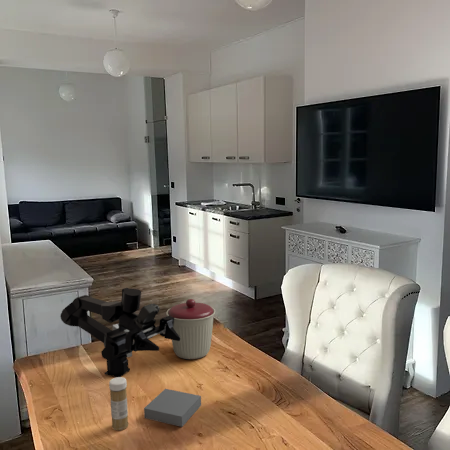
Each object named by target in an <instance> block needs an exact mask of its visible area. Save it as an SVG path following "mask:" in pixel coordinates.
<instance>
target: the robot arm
mask: <svg viewBox="0 0 450 450" xmlns="http://www.w3.org/2000/svg"><path fill="white" fill-rule="evenodd" d="M141 300H142V291H141V290H140V289H138V288H128V287H124V288H122V289H121V301H117V300H115V301H105V300H102V299H99V298H95V297H91V296H90V295H87V294H84V295H81V296H77V297H75V298H74V299H73V300H72V301H71V303H69V304H68V305H67V306H65V308H63V309H62V310H61V313H60V316H59V317H60V319H61V322H62V323H63V324H64V325H66V326H69V327H78V328H80V329H82V330H83V331H85V332H86V333H88V334H89V335H91V336H92V337H94V338H95V339H97V340H98V341H100V342H101V343H103V346H104V348H103V349H102V350H101V352H100V353H101V358H102V359H104V360H106V371H105V372H104V375H105V376H110V377H114V378H116V377H123V376H124V375H125V374H127V373H128V372H130V371H131V368H130V367H129V359H128V357H127V355H126V354H128V353H130V352H132V353H133V352H147V351H148V352H150V351H151V352H158V351H160V346H158V345H157V344H156V343H155V342H153V341H152V340H150V339H151V338H153V337H154V336H157V335H160V336H161V337H164V338H163V339H167V340H170V341H172V340H175V341H180V337H179V335H178V334H177V332H176V331H175V330H174V328H173V326H174V318H173V317H172V316H170V315H169V316H167V315H166V316H165V317H162V318H160V319H159V325H157V326H156V325H155V324H156V323H157V320H156V319H155V318H156V316H157V315H158V314H159V312H160V309H161V308H160V306H159V305H158V304H156V303H150V304H147V305H144V306H142V307H141ZM140 307H141V308H140ZM137 311H139V312H138V313H136V312H137ZM88 312H91V313H95V314H96V315H97V314H98V315H100V316H101V318H102V320H104V321H105V322H107V323H109V324H112V323H114V322H117V321H118V323H117V324H118V326H119V328H117V329H115V330H113V329H111V328H109V327H107V326H105V325H104V324H103V323H102V322H101V323H100V321H97V320H96V319H95V318H93V317H92V316H90V315H89V313H88ZM126 329H127V330H129V332H125V331H124V330H126Z"/></svg>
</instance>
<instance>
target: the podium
mask: <svg viewBox="0 0 450 450" xmlns="http://www.w3.org/2000/svg"><path fill="white" fill-rule="evenodd" d="M201 406H202V395H199V394H195V393H188V392H183V391H178V390H175V389H174V390H173V389H169V388H164V389H163V390H162V391H161V392H160V393H159V394H157V396H156V397H154V399H152V400H151V401H150V402H149V403H148V404H146V406H144V407H143V414H144V415H143V416H144V418H143V419H147V420H151V421H156V422H159V423H163V424H168V425H173V426H178V427H181V428H182V427H184V426H185V425H186V423H187V422H188V421H189V420H190V419H191V418H192V417H193V415H195V413H196V412H197V411H198V410H199V408H200V407H201Z"/></svg>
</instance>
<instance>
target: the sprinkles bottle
mask: <svg viewBox="0 0 450 450" xmlns="http://www.w3.org/2000/svg"><path fill="white" fill-rule="evenodd" d="M108 382H109V384H108V386H109V387H108V388H109V390H110V392H109V393H110V412H111V413H110V414H111V428H112V430H114V431H123V430H125V429H127V428H128V427H129V419H128V418H129V415H128V414H129V412H128V398H127V386H128V385H127V383H128V382H127V379H126V378H125V377H123V376H121V377H114V378H112V379H110V380H109V381H108Z"/></svg>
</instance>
